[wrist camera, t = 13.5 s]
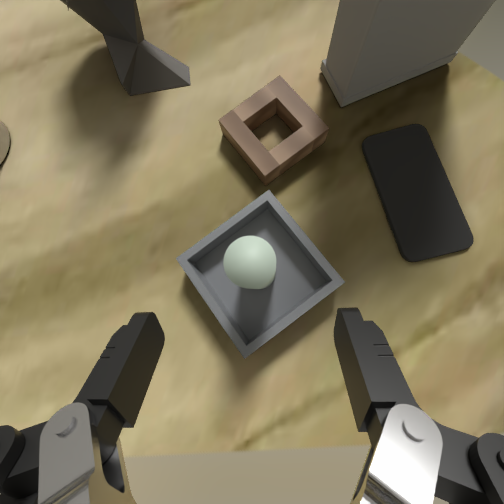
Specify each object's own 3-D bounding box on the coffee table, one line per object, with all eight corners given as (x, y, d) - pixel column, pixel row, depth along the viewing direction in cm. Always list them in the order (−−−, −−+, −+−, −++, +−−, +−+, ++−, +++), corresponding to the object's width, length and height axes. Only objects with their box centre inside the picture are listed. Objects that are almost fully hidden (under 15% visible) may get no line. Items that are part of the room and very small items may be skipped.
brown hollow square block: (265, 185, 29) (264, 175, 26) (222, 133, 30) (218, 119, 28) (324, 142, 29) (329, 128, 26) (279, 92, 30) (279, 75, 28)
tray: (248, 350, 26) (244, 359, 22) (187, 262, 28) (175, 258, 24) (335, 283, 26) (345, 282, 23) (269, 202, 28) (268, 189, 25)
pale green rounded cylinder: (255, 295, 26) (244, 299, 16) (236, 269, 26) (213, 256, 16) (282, 275, 26) (287, 266, 16) (262, 249, 26) (254, 225, 16)
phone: (423, 120, 28) (478, 245, 25) (419, 125, 29) (471, 247, 26) (359, 138, 28) (406, 264, 25) (357, 142, 29) (402, 265, 26)
